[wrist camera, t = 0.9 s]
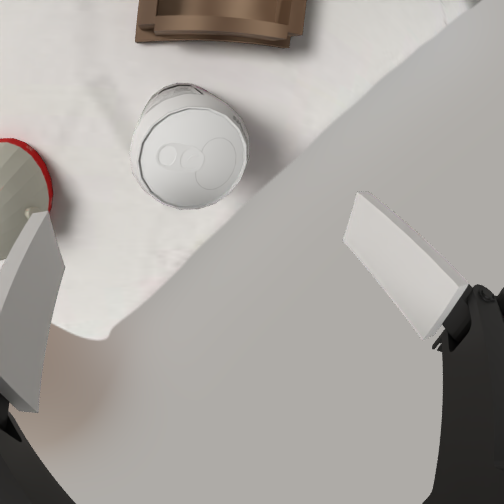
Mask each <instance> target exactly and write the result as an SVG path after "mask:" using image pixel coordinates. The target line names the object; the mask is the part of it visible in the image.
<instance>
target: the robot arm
mask: <svg viewBox="0 0 504 504" xmlns="http://www.w3.org/2000/svg"><path fill="white" fill-rule="evenodd" d="M343 242H344V243H345V244H346V245H347V246H348V247H349V249H350V250H351V251H352V252H353V253H354V254H355V255H356V257H357V258H358V259H359V260H360V261H361V263H362V264H363V265H364V266H365V267H366V269H367V270H368V271H369V272H370V273H371V275H372V276H373V277H374V278H375V280H376V281H377V282H378V283H379V284H380V286H381V287H382V288H383V289H384V291H385V292H386V293H387V294H388V296H389V297H390V298H391V300H392V301H393V302H394V303H395V305H396V306H397V307H398V308H399V310H400V311H401V312H402V314H403V315H404V316H405V318H406V319H407V320H408V322H409V323H410V324H411V325H412V327H413V328H414V330H415V331H416V332H417V334H418V335H419V336H420V338H421V339H422V340H425V339H427V338H429V337H431V336H433V335H434V334H435V333H436V332H437V330H438V329H439V328H440V326H441V325H443V326H444V327H445V330H444V331H443V332H442V334H441V335H440V336H439V338H438V339H437V340H436V341H435V343H434V344H433V346H432V349H435V348H436V347H437V345H438V344H439V343H442V344H441V345H440V346H439V348H438V349H437V351H441V352H442V357H443V406H442V424H441V436H440V446H439V455H438V461H437V468H436V474H435V480H434V485H433V490H432V492H431V494H430V496H429V497H428V498H427V499H426V500H425V501H424V502H423V504H504V288H503V289H502V290H501V292H500V294H499V295H498V296H494V294H493V293H492V292H491V291H490V290H488V289H487V288H485V287H484V286H482V285H475V286H474V287H473V288H472V287H471V286H470V285H469V282H468V281H467V280H466V279H465V278H464V277H463V276H462V275H461V274H460V273H459V272H458V271H457V270H456V269H455V268H454V267H453V266H452V265H451V264H450V263H449V262H448V261H447V260H446V259H445V258H444V257H443V256H442V255H441V254H440V253H439V252H438V251H437V250H436V249H435V248H434V247H433V246H432V245H431V244H430V243H429V242H427V241H426V240H425V239H424V238H423V237H422V236H421V235H420V234H418V232H417V231H415V230H414V229H413V228H412V227H411V226H410V225H409V224H407V223H406V222H405V221H404V220H403V219H401V218H400V217H399V216H398V215H397V214H396V213H395V212H394V211H392V210H391V209H390V208H389V207H388V206H386V205H385V204H384V203H383V202H381V201H380V200H379V199H378V198H376V197H375V196H374V195H373V194H371V193H370V192H357V194H356V197H355V201H354V204H353V208H352V211H351V215H350V218H349V222H348V225H347V228H346V231H345V235H344V238H343ZM64 270H65V265H64V262H63V259H62V256H61V253H60V250H59V247H58V244H57V240H56V237H55V234H54V230H53V226H52V223H51V219H50V215H49V211H44V212H38V213H32V215H31V217H30V218H29V220H28V221H27V223H26V225H25V226H24V228H23V230H22V231H21V233H20V235H19V236H18V238H17V240H16V242H15V243H14V245H13V247H12V249H11V251H10V252H9V254H8V256H7V258H6V260H5V262H4V264H3V266H2V268H1V270H0V504H76V503H75V502H74V501H73V500H72V499H71V498H70V497H69V496H68V494H67V493H66V492H65V491H64V490H63V489H62V487H61V486H60V485H59V484H58V482H57V481H56V480H55V479H54V477H53V476H52V475H51V473H50V472H49V471H48V470H47V468H46V467H45V465H44V464H43V463H42V461H41V460H40V458H39V457H38V456H37V454H36V453H35V451H34V450H33V448H32V447H31V445H30V444H29V442H28V441H27V439H26V438H25V436H24V434H23V432H22V431H21V430H20V428H19V426H18V424H17V422H16V421H15V419H14V417H13V416H12V415H11V413H10V412H9V411H8V408H9V402H10V403H11V404H12V405H13V406H14V407H15V408H16V409H17V410H19V411H24V412H35V413H38V410H39V396H40V386H41V378H42V370H43V363H44V356H45V350H46V345H47V339H48V334H49V329H50V324H51V320H52V315H53V311H54V307H55V303H56V299H57V295H58V291H59V287H60V284H61V280H62V277H63V273H64Z"/></svg>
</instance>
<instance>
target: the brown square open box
mask: <svg viewBox="0 0 504 504" xmlns="http://www.w3.org/2000/svg"><path fill="white" fill-rule="evenodd" d="M306 2H307V0H139V6H138V15H137V25H136V36H135V42H136V43H138V42H151V41H174V40H202V41H225V42H238V43H249V44H258V45H266V46H273V47H280V48H289V45H290V37H291V36H299V35H302V34H303V26H304V18H305V10H306Z"/></svg>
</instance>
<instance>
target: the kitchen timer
mask: <svg viewBox="0 0 504 504" xmlns="http://www.w3.org/2000/svg"><path fill="white" fill-rule="evenodd" d="M52 197H53V190H52V182H51V177H50V175H49V172H48V169H47V167H46V164H45V163H44V161H43V160H42V159H41V157H40V156H39V154H38V153H37V152H36V151H35V150H34V149H33V148H31V147H30V146H29V145H28V144H26V143H25V142H22V141H19V140H17V139H14V138H4V139H0V260H4V259H6V258H7V256H8V254H9V252H10V251H11V249H12V247H13V245H14V243H15V242H16V240H17V238H18V236H19V235H20V233H21V231H22V230H23V228H24V226H25V225H26V223H27V221H28V220H29V218H30V217H31V215H32V213H38V212H44V211H49V212H50V210H51V207H52Z"/></svg>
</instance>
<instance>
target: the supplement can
mask: <svg viewBox="0 0 504 504" xmlns="http://www.w3.org/2000/svg"><path fill="white" fill-rule="evenodd" d="M129 155H130V161H131V166H132V171H133V175H134V176H135V178H136V179H137V181H138V183H139V184H140V186H141V187H142V189H143V190H144V191H145V192H146V193H148V194H149V195H151V196H152V197H153V198H155V199H156V200H157V201H159V202H161V203H162V204H164V205H167V206H170V207H174V208H177V209H180V210H183V209H200V208H203V207H206V206H210V205H213V204H215V203H217V202H218V201H220V200H221V199H223V198H224V197H225V196H227V195H228V194H230V193H231V191H232V190H233V189H234V188H235V186H236V185H237V184H238V182H239V181H240V180H241V177H242V175H243V173H244V170H245V167H246V164H247V162H248V159H249V135H248V133H247V130H246V128H245V125H244V123H243V120H242V118H241V117H240V116H239V115H238V114H237V113H236V112H235V111H234V110H233V109H232V108H231V107H230V106H229V105H228V104H227V103H225V102H223V101H222V100H220V99H219V98H217V97H216V96H214V95H212V94H211V93H209V92H208V91H206V90H204V89H203V88H200V87H198V86H196V85H193V84H189V83H176V84H172V85H169V86H166V87H163V88H162V89H161V90H159V91H158V92H157V93H155V94H154V95H153V96H152V97H151V99H150V100H149V102H148V103H147V105H146V106H145V108H144V110H143V112H142V115H141V117H140V119H139V122H138V124H137V126H136V129H135V131H134V134H133V138H132V143H131V148H130V153H129Z"/></svg>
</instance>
